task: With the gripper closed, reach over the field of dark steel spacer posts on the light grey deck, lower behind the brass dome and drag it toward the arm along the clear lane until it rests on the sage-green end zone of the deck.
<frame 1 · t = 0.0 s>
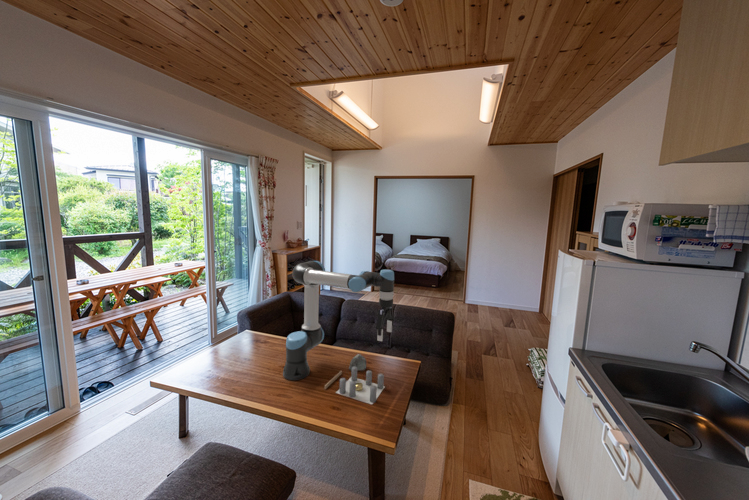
hand: (384, 336, 157), 28 cm above the table, fingers open, 13 cm apart
deck: (355, 389, 153), on the table
brass dome: (358, 388, 153), point 1 cm above the table, touching deck
stone: (358, 369, 174), on the table
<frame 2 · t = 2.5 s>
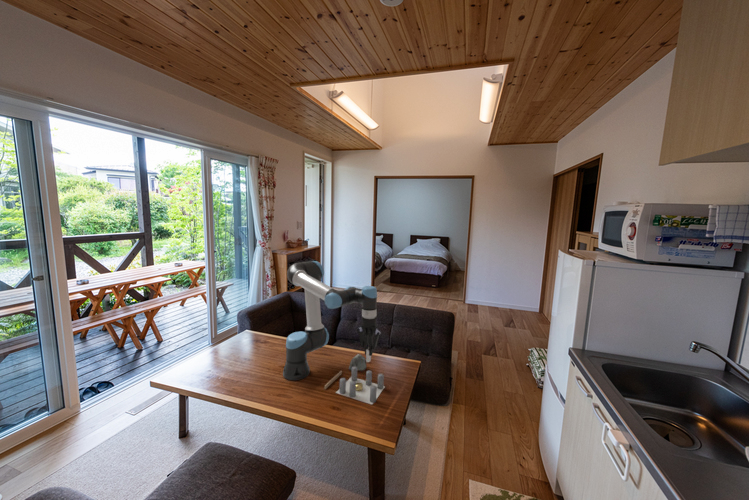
hand: (368, 360, 148), 18 cm above the table, fingers closed
nothing on the table moved.
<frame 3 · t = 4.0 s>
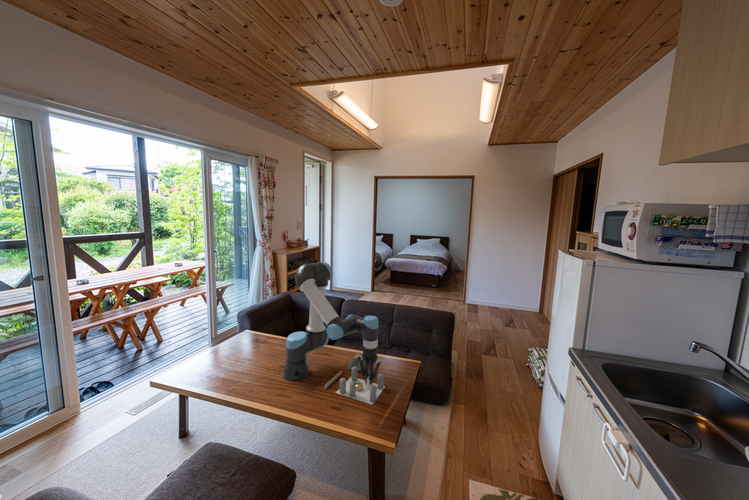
hand: (368, 389, 150), 3 cm above the table, fingers closed
nothing on the table moved.
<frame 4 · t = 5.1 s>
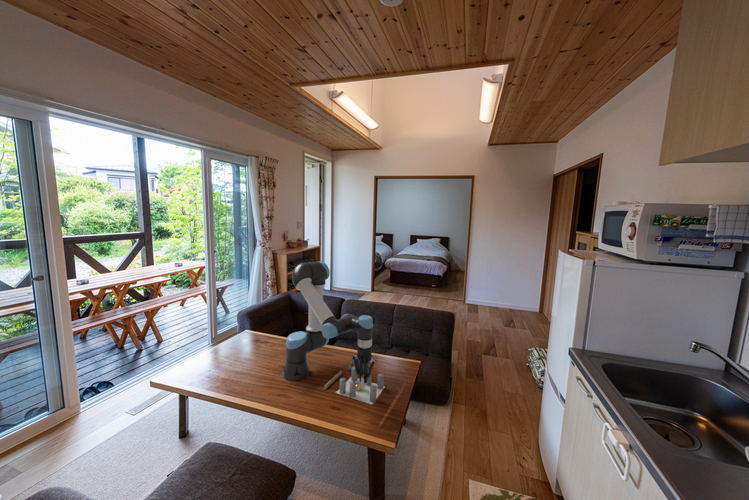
hand: (363, 387, 151), 2 cm above the table, fingers closed
brass dome: (358, 388, 153), point 1 cm above the table, touching gripper
everything else where it was.
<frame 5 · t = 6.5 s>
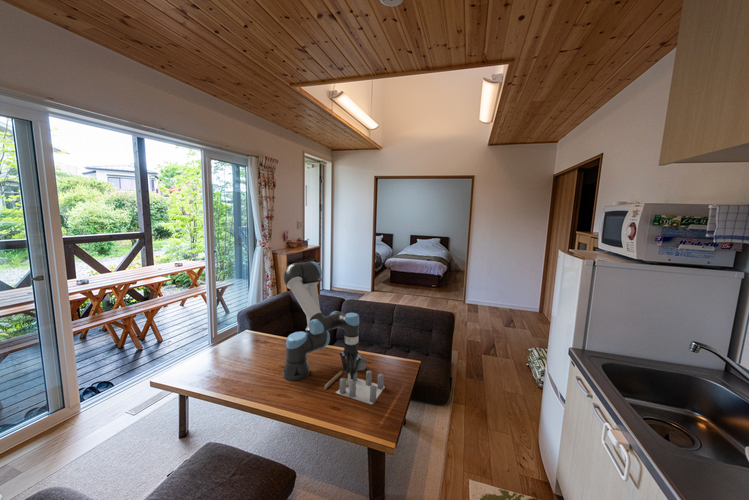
hand: (349, 383, 155), 2 cm above the table, fingers closed
brass dome: (345, 384, 156), point 1 cm above the table
everything else where it was.
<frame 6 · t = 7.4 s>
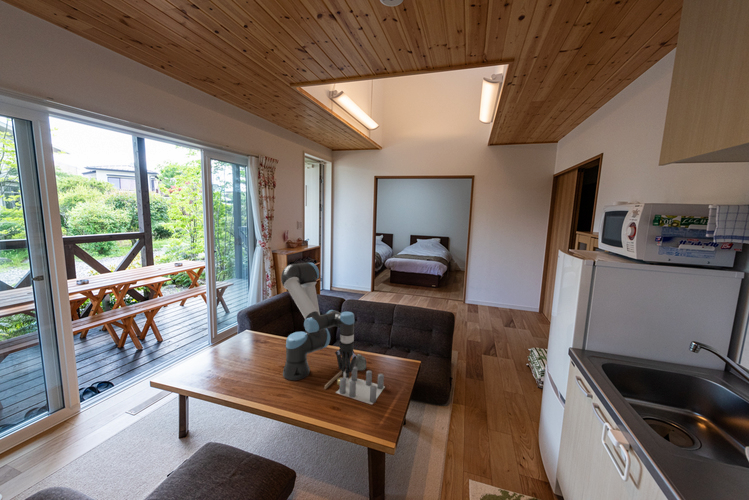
hand: (345, 382, 156), 3 cm above the table, fingers closed
brass dome: (340, 383, 157), point 1 cm above the table, touching gripper
everything else where it was.
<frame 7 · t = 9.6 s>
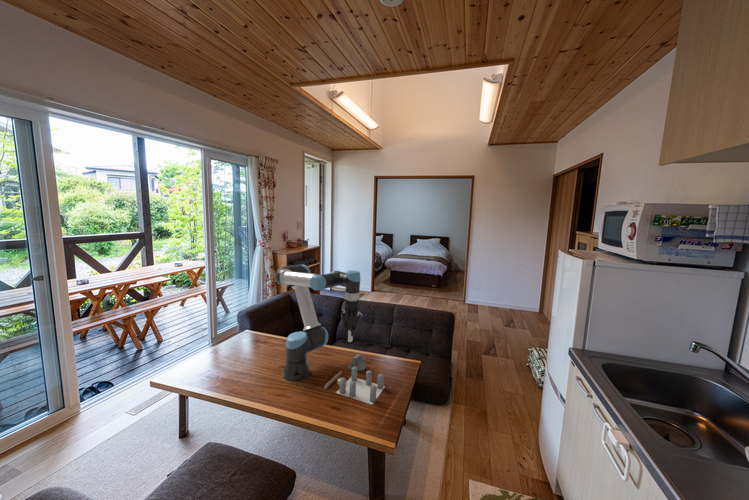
hand: (350, 341, 156), 25 cm above the table, fingers closed
brass dome: (340, 383, 157), point 1 cm above the table, touching deck
everything else where it was.
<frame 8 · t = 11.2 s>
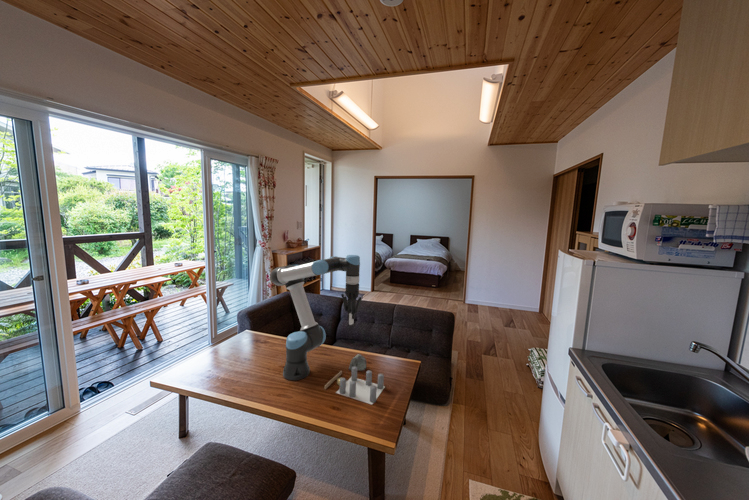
hand: (351, 323, 161), 32 cm above the table, fingers closed
nothing on the table moved.
at the end: brass dome inside the target area (0.9 cm from its centre), point 1.2 cm above the table; brass dome moved 10.9 cm from its start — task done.
